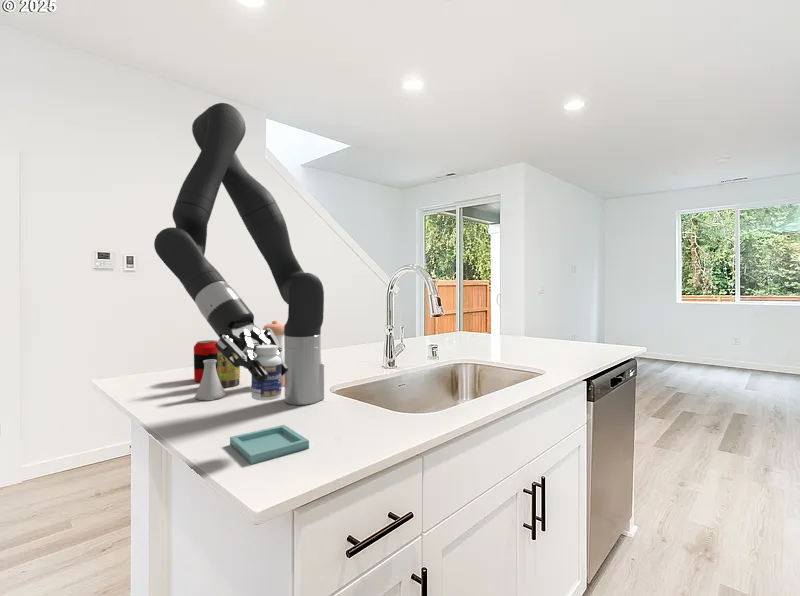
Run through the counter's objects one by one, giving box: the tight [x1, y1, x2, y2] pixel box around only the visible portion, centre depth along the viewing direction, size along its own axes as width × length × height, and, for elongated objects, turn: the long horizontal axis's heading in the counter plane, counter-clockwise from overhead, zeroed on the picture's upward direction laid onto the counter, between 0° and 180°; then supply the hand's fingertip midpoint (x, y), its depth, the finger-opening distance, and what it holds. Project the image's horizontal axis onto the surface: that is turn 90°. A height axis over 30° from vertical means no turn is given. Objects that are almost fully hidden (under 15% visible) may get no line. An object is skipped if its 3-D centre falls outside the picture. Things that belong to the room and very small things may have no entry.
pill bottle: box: [251, 344, 282, 402], centre depth 81 cm, size 5×5×10 cm
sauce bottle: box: [217, 349, 241, 388], centre depth 127 cm, size 6×6×20 cm
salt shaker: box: [261, 320, 285, 388], centre depth 128 cm, size 7×7×19 cm
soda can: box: [193, 339, 218, 383], centre depth 134 cm, size 8×8×12 cm
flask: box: [194, 359, 227, 401], centre depth 115 cm, size 7×7×10 cm
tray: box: [229, 424, 310, 465], centre depth 82 cm, size 11×11×2 cm
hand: (274, 376), depth 80 cm, fingers closed on pill bottle, 5 cm apart
